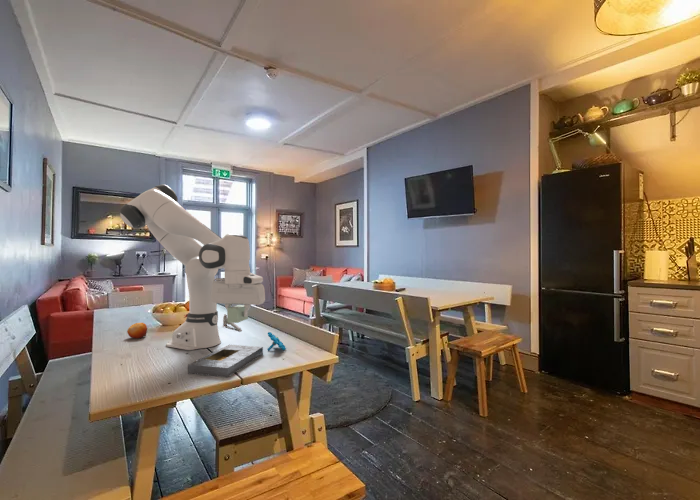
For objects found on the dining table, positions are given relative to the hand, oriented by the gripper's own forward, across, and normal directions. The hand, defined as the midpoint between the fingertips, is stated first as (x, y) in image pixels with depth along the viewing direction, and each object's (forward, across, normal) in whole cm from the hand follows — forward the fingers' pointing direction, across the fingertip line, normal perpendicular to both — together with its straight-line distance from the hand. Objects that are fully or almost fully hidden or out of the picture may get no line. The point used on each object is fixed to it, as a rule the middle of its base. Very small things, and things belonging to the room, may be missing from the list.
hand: (238, 316), depth 122 cm
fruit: (+18, -67, +22) cm, 73 cm away
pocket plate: (+18, -4, 0) cm, 18 cm away
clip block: (+2, 0, 0) cm, 2 cm away
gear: (+18, +6, +19) cm, 27 cm away
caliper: (+18, -34, +49) cm, 63 cm away
